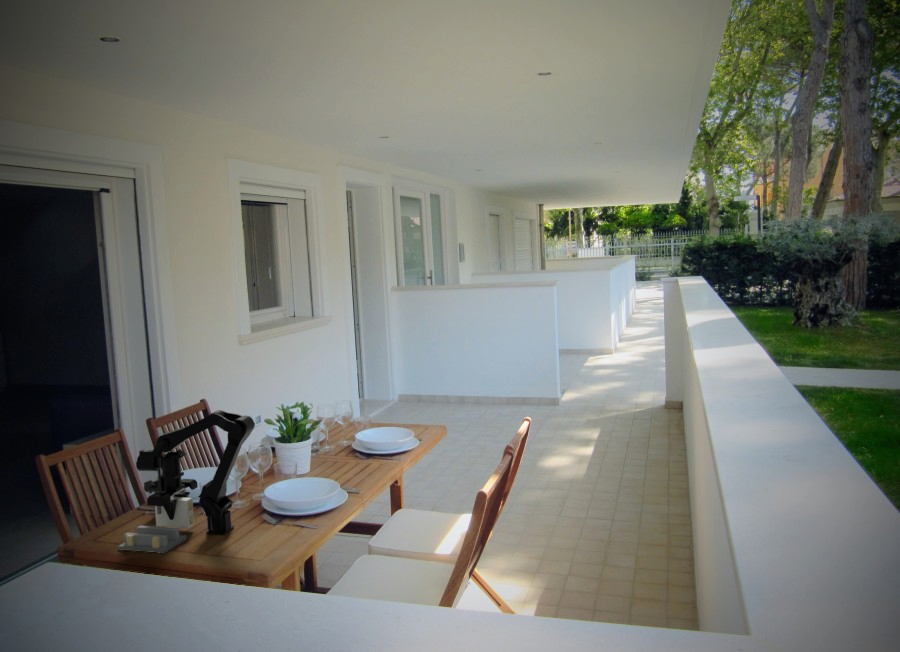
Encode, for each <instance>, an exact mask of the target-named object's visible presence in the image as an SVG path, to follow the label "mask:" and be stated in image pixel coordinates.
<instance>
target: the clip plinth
mask: <svg viewBox="0 0 900 652" xmlns="http://www.w3.org/2000/svg"><path fill="white" fill-rule="evenodd" d="M136 531H137V532H126V533H125V534H124V537H123V538H124V542H123V543H121V544H120V545H117V550H118V549H131V550H140V551H154V552H160V553H164V554H166V553H167V552H169V551H170V550H173V547H174V546H175V547H177V546H178V545H180V544H181V543H183V542H185V541H186V540H187V535H184V534H180V528H178V527H164V526H151V525H150V526H149V525H138V526H137V527H136ZM176 545H177V546H176ZM175 547H174V548H175ZM168 550H169V551H168ZM166 551H167V552H166ZM165 552H166V553H165ZM160 553H159V554H160Z"/></svg>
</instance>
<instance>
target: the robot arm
mask: <svg viewBox="0 0 900 652" xmlns="http://www.w3.org/2000/svg"><path fill="white" fill-rule="evenodd" d="M214 426H216V427H217V428H219V429H221V430H222V431H224V432H227V444H226V445H225V446H226V447H225V449H224V451H223V454H222V456H221V458H220V461H219V463H218V465H217V468H216V471H215V473H214V475H213V478H212V479H211V480H210V481H208V482H206V484H203V486H202V489H201V492H200V494H199V495H198V496H197V497H198V498H199V499H198V503H199V505H200V507H201V508H202V510H203V511H204V514H205V516H206V520H207V523H206V524H207V530H206V532H205V534H208V535H220V536H223V535H225V534H227V533H228V532H230V531H232V530H233V529H234V528H235V525H232V516H231V515H232V514H231V510H230V509H231V508H232V506H233V500H231V499H230V498H229V496H228V495H227V489H228V488H227V483H228V479H229V478H230V475H231V473H232V471H233V467H234V466H235V463H236V460H237V458H238V455H239V453H240V450H241V449H242V446H243V444H244V443H245V442H246V440H247V439H248V438H249V436H251V434H252V432H253V430H254V429H255V427H256V423H255V421H254V419H253V418H252V416H249V415H241V414H238V413H233V412H227V411H225V410H221V409H219V410H215V411H214V412H212V413H210V414H209V415H207V416H205V417H203V418H201V419H199V420H197V421H195V422H193V423H191V424H189V425H186V426H185V427H181V428H176V429H173V430H170V431H167V432H166V433H163V434H161V435H160V436H158V437H157V439H156V445H155V447H154V448H153V449H141V450H140V451H139V452H138V453H139V455H138V456H137V460H136V462H135V465H136V469H137V471H139V472H158V471H160V469H161V474H162V475H161V474H160V475H158V477H159V479H158V480H157V479H155V480H152V479H149V480H147V481H145V482H144V483H143V490H144V491H145V493H149V496H148V497H147V498H146V506H149V507H150V506H152V507H155V506H163V507H164V509H165V511H166V513H167V515H168V517H169V519H170V520H173V519H174V514H175V509H176V503H177V500H174V498H173V497H187V498H189V495H190V494H191V492H189V491H187V490H186V489H187V488H189V489H190V490H192V491H194V490H195V489H197V488H199V486H198V481H197V480H196V479H193V478H182V477H183V476H184V475H185V473H184V471H182V468H181V466H182V465H181V459H183V458H184V457H186V456H187V453H186V452H185V451H183V450H182V449H181V448H179V447H180V446H181V445H183V444H184V443H185V442H187V441H188V440H189V439H190V438H192V437H194V436H196V435H197V434H200V433H202V432H203V431H206V430H208V429H209V428H212V427H214ZM176 448H179V449H177V450H176V451H173V450H174V449H176ZM157 490H158V492H162V491H164V493H154V491H157Z"/></svg>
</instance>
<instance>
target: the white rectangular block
mask: <svg viewBox="0 0 900 652" xmlns="http://www.w3.org/2000/svg"><path fill="white" fill-rule="evenodd" d="M173 498H174V500H177V503H176V509H175V514H174V519H173V520H170V519H169V517H168V515H167V513H166V511H165V509H164V507H163V506H154V511H155V512H154V513H155V527H167V528H179V529H181V528H183V529H190V528H192V527H193V526H194V525H195V518H194V517H195V513H194V501H193V497H173Z"/></svg>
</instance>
